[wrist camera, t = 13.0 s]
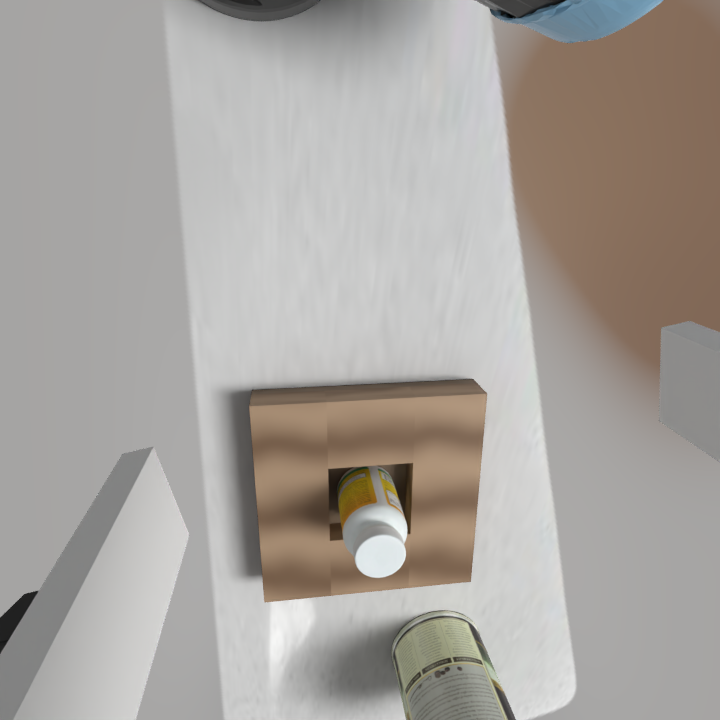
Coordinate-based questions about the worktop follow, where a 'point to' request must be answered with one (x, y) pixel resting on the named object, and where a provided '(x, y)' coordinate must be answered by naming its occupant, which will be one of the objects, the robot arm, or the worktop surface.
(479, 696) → the coffee can
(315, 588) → the socket block
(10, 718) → the robot arm
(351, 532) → the supplement bottle
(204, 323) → the worktop surface
